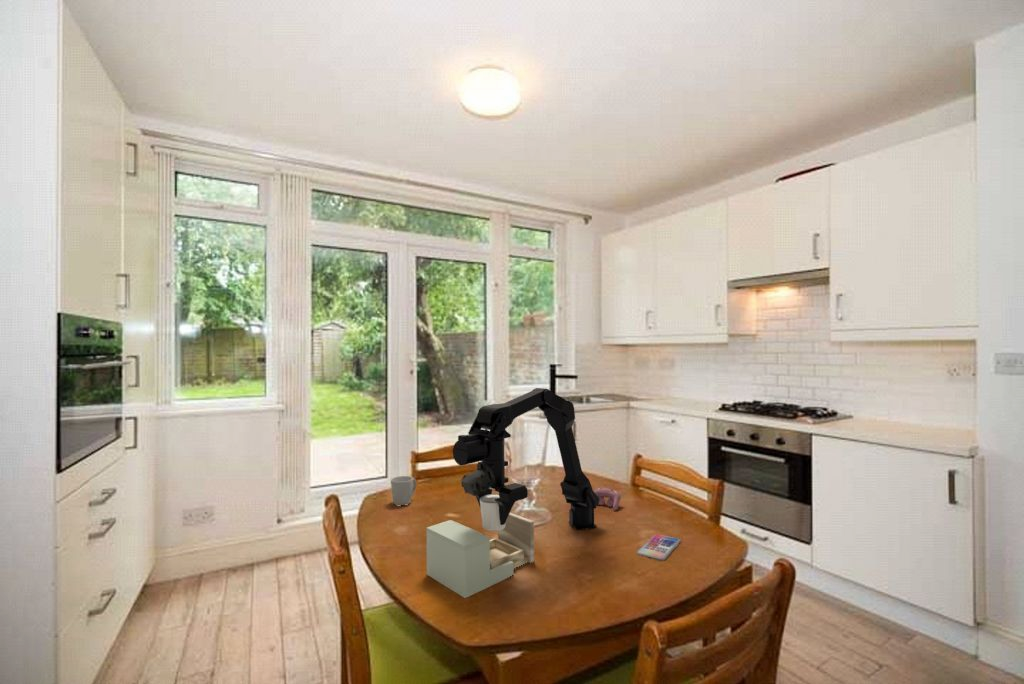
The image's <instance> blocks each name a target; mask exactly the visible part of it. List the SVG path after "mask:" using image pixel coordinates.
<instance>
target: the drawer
mask: <svg viewBox="0 0 1024 684" xmlns="http://www.w3.org/2000/svg"><path fill="white" fill-rule="evenodd" d="M534 526H535V521H534V520H532V519H528V518H526V517H523V516H520V515H519V514H515V513H512V512H510V513H509V516H508V518H507V520H506V523H505V528H504V529H502V530H498V531H497V537H494V538H492V539H490V570H491V569H493V568H496V567H498V566H500V565H502V564H504V563H507V562H509V561H512V562H513V570H515V569H517V568H516V567H518V568H519V566H520V567H522V566H524V565H526V564H528V563H529V562H530V563H529V564H532V563H534V562H535V527H534ZM527 562H528V563H527ZM531 562H532V563H531ZM525 563H526V564H525ZM523 564H524V565H523ZM521 565H522V566H521ZM514 568H515V569H514Z"/></svg>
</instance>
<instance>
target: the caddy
mask: <svg viewBox="0 0 1024 684" xmlns="http://www.w3.org/2000/svg"><path fill="white" fill-rule="evenodd" d="M490 540H491V539H490V536H489V535H486V534H484V533H482V532H479V531H478V530H475V529H473V528H471V527H468V526H465V525H463V524H461V523H459V522H456V521H454V520H452V519H448V520H446V521H443V522H439V523H437V524H433V525H431V526H427V527H426V575H427V576H428V577H430V578H432V579H433V580H435V581H437V582H438V583H439V584H441V585H443V586H444V587H446V588H448V589H450V590H451V591H453V592H454V593H456V594H458V595H459V596H461V597H462V598H464V599H467V598H469V597H471V596H472V595H476V594H477V593H480V592H481V591H484V590H485V589H488V588H489V587H492V586H494V585H496V584H498V583H500V582H502V581H505V580H507V579H508V578H510V576H511V577H513V576H514V575H515V574H514V569H513V562H512V561H509V562H507V563H504V564H502V565H500V566H498V567H496V568H493V569H491V570H490ZM512 575H513V576H512Z"/></svg>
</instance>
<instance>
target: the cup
mask: <svg viewBox="0 0 1024 684" xmlns="http://www.w3.org/2000/svg"><path fill="white" fill-rule="evenodd" d="M390 485H391V487H390V488H391V495H392V502H393V505H394V504H395V505H405V504H409V503H410V502H412V497H413V496H414V494H415V492H416V490H417V480H416V479H415V478H414V477H413V476H410V475H402V476H401V475H399V476H395V477H392V478H391V479H390ZM410 504H411V503H410ZM410 504H409V505H410ZM395 505H394V506H395Z"/></svg>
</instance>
